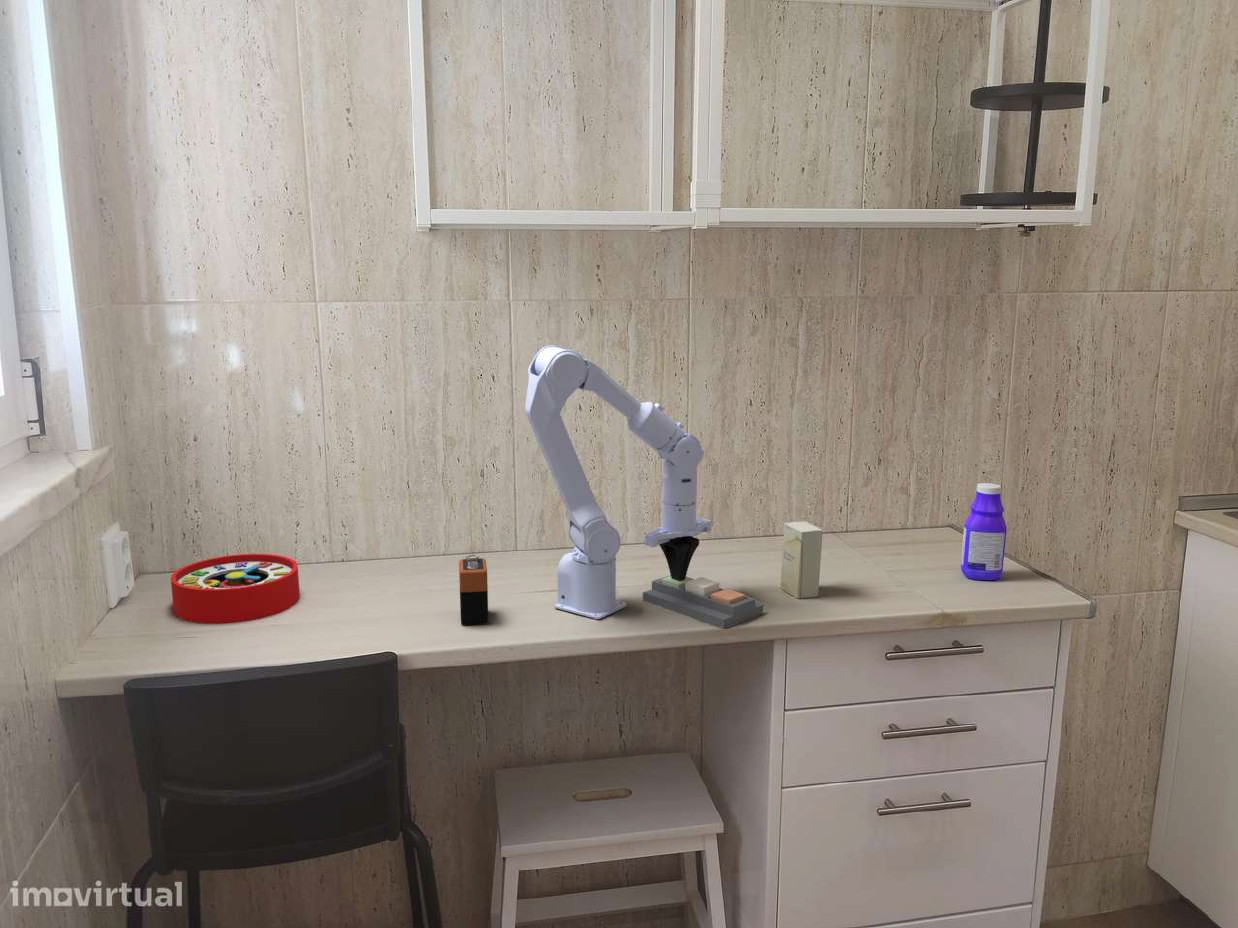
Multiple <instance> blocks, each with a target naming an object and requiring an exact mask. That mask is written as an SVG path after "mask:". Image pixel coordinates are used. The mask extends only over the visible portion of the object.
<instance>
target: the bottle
mask: <svg viewBox="0 0 1238 928" xmlns="http://www.w3.org/2000/svg"><path fill="white" fill-rule="evenodd" d="M1001 494H1002V485H1000V484H998V483H997V484H996V483H992V482H991V483H990V482H980V483H977V487H976V495H975V499H974V501H973V502H972V504H971V505H970V510H971V512H970V514H969V515H968V517H967V518H966V520H965V522H964V526H963V535H962V536H963V537H962V545H961V546H962V547H961V549H962V550H961V558H960V569H961V572H962V574H963V576H965V577H966V578H968V579H971V580H981V581H982V580H983V581H996V580H998V579H1000V577H1001V576H1002V573H1003V570H1004V561H1005V560H1004V558H1005V552H1006V551H1005V550H1006V549H1005V548H1006V538H1007V531H1008V530H1007V527H1008V526H1007V523H1006V521H1005V518H1004V515H1003V513H1005V508H1004V505H1003V504H1002V499H1001V498H1002V497H1001V496H1002V495H1001Z"/></svg>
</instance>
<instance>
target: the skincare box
mask: <svg viewBox="0 0 1238 928" xmlns="http://www.w3.org/2000/svg"><path fill="white" fill-rule="evenodd" d="M783 524H784V525H783V540H782V541H783V542H782V544H783V545H782V557H781V558H782V559H781V575H780V589H781V590H783V591H784V592H786V593H788V594H789V595H791V597H794V598H795V599H797V600H798V599H805V598H806V599H807V598H815V597H818V596H819V589H820V588H819V586H820V585H819V584H820V573H821V572H820V571H821V559H822V547H823V546H822V545H823V531H824V529H822V528H821V527H819V526H816V525H814V524H812V523H810V522H808V521H806V520H802V521H789V522H788V521H787V522H784V523H783Z"/></svg>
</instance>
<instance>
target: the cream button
mask: <svg viewBox="0 0 1238 928" xmlns="http://www.w3.org/2000/svg"><path fill="white" fill-rule="evenodd" d="M693 579H694V580H691V581H688V582H686V584H685V591H688V592H691V593H694V594H697V595H701V596H707V595H709V594H712V593H715V592H718V591H719V588H720V582H718V581H715V580H712V579H709V578H706V577H703V576H701V577H698V578H693Z"/></svg>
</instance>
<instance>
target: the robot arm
mask: <svg viewBox="0 0 1238 928" xmlns="http://www.w3.org/2000/svg"><path fill="white" fill-rule="evenodd" d="M528 366H529V367H528V368H527V369H528V370H527V371H528V383H527V391H526V399H525V405H524V410H525V415H526V418H527V420H528V422H529V424H530V427H531V429H532V432H533V434H534V436H535V438H536V440H537V443H538V446H539V448H540V450H541V453H542V455H543V457H544V460H545V462H546V464H547V467H548V469H549V471H550V475H552V478H553V481H554V482H555V485H556V487H557V490H558V491H559V494H560V497H561V499H562V502H563V505H564V506H565V516H566V519H567V521H568V529H567V530H568V537H569V538H568V539H569V540H570V541H571V542H572V544H573V545H574V548H573V551H572V552H568V553H566V554H564V555H562V557H561V559H560V561H559V563H558V566H557V572H556V573H557V574H556V576H557V577H556V578H557V580H556V581H557V593H556V594H557V603H556V604H554V608H555V609H558V610H561V611H565V612H570V613H573V614H578V615H581V616H584V617H589V618H592V619H595V620H600V619H603V618H605V617H606V616H609V615H611V614H613V613H615V612H617V611H620V610H621V609H624V608H626V607H627V603H625V602H622V601H617V595H616V594H617V593H616V592H617V588H616V587H617V585H616V584H617V583H616V582H617V581H616V578H617V573H616V572H617V568H616V567H617V563H616V561H617V559H616V557H617V554H618V552H619V551H620V548H621V542H622V541H621V536H620V533H619V530H617V529H616V528H615V527H614V526H612V525H611V524H610V522H609V521H608V519H607V516H606V515H605V513H604V511H603V510H602V508H601V507H600V505H599V504H598V502H597V500H596V499H595V496H594V495H595V494H594V493H593V490H592V488H591V485H590V483H589V481H588V479H587V476H586V474H585V472H584V469H583V467H582V463H581V461H580V460H579V458H578V454H577V453H576V451H575V450H576V449H575V447H574V446H573V443H572V440H571V438H570V436H569V433H568V430H567V427H566V425H565V424H564V421H563V418H562V416H561V412H562V410H563V408H564V406H565V404H566V402H567V400H568V399H569V398H570V397H571V396H572V395H573V394H574V393H575V391H577V390H578V389H580V390H583V391H588V392H593V394H595V395H597V396H598V397H599V398H601V399H602V400H603V401H604V402H606V403H607V404H608V405H610V406H612V407H613V408H614V409H615V410H617V411H618V412H619V413H621V414H622V415H623V416H624V417H626V420H627V427H628V430H629V431H630V432H632V433H633V435H636V436H637V437H638V438H639V439H640V440H641V441H643V442H644V444H646V445H648V446H649V447H651V448H652V450H654V451H655V452H657V454H658V456H659V458H660V459H663V461H662V462H663V463H662V465H663V466H662V467H663V469H662V507H661V508H662V510H661V513H662V514H661V515H662V516H661V518H662V519H661V521H662V523H661V526H659V527H657V528H656V529H654V530H652V531H650V532H648V533H645V534H644V545H645V546H647V547H651V548H656V547H658V546H659V547H660V548H661V550H662V552H663V555H664V557H665V560H666V563H667V565H668V569H669V574H670V575H671V578H672V579H674V580H677V581H682V580H685V578H686V577H687V573H688V571H689V567H690V563H691V560H692V557H693V556H694V553H695V552H696V549H697V548H698V547H699V545H700V539H699V538H697V537H696V536H699V535H700V534H701V533H704V532H705V533H710V532H712V520H709V519H707V518H706V519H705V518H701V519H697V500H698V499H697V493H698V491H697V490H698V489H697V487H698V467H699V464H700V463H701V462H702V460H703V457H704V453H705V450H703V448H702V445H701V442H700V440H699V439H698V438H697V437H696V436H695V435H693V434H690V433H688V432H686V431H684V428H685V425H683V424H682V423H681V422H678V421H677V422H676V421H675V420H673V419H672V418H671V417H670V416H669V415H667V414H666V413H665V412H664V410H665V408H664V407H663V406H662V405H661V404H660V403H655V404H654V403H653V402H652V401H646V402H639V401H638V400H637V399H636V398H635V397H634V396H632V395H631V394H630V392H628V391H627V390H626V389H625V388H624V387H623V386H621V385H620V384H619V383H618V382H617V381H616V380H615V379H613V378H612V377H611V376H610V375H609V374H608V373H607V372H606V371H605V370H603V369H602V368H601V367H599V366H598V365H597V364H595V363H593V361H590V360H589V359H586V358H583V356H582V355H581V354H580V353H579V352H577V351H575V350H571V349H565V348H563V347H561V346H558V345H553V344H552V345H545V346H544V347H542V348H540V350H538V352H537V353H536V354H535V356H534V358H533V359H532V361H531V362H530V365H528Z"/></svg>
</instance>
